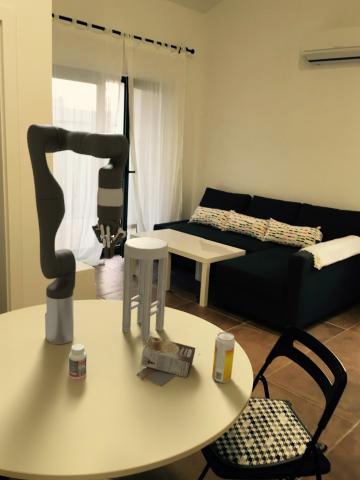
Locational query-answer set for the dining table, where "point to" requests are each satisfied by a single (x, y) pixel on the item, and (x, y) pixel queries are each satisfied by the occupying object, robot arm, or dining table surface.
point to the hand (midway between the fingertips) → (108, 258)
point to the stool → (144, 283)
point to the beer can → (223, 357)
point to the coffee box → (168, 356)
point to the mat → (157, 376)
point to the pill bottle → (77, 362)
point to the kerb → (147, 373)
